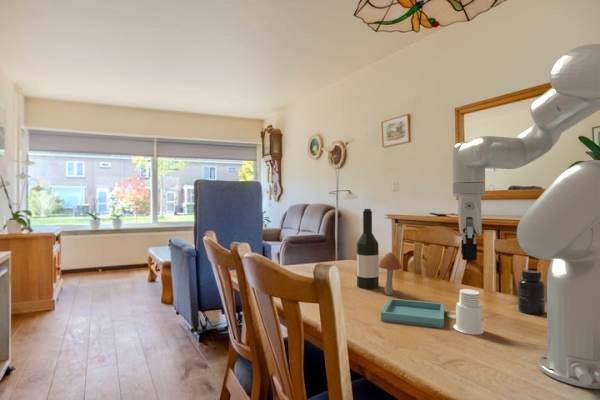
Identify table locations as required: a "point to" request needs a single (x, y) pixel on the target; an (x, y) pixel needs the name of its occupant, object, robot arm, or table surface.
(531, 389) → the table surface
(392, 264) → the mushroom
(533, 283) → the supplement bottle
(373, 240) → the wine bottle
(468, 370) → the table surface
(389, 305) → the tray
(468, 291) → the downlight
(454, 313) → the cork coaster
